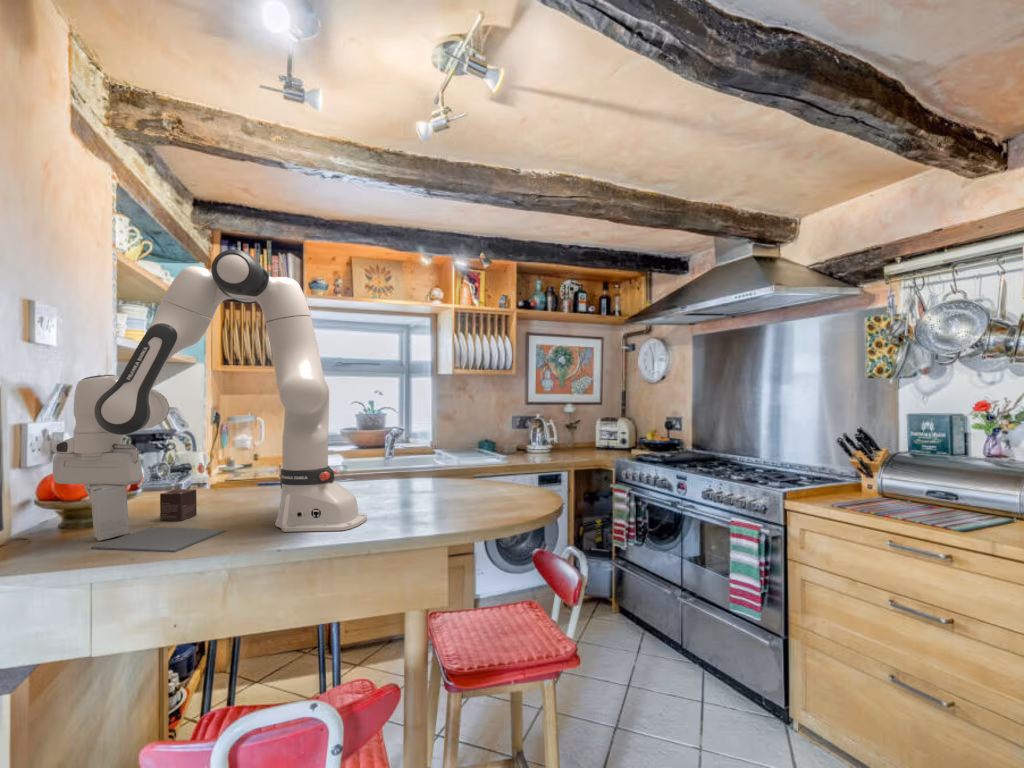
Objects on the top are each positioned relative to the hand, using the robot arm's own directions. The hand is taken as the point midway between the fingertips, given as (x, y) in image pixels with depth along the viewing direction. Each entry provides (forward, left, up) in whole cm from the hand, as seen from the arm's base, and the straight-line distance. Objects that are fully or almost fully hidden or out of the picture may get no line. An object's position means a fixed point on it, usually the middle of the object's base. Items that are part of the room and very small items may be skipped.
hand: (97, 503), depth 119 cm
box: (-6, -18, -8) cm, 20 cm away
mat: (-17, 0, -8) cm, 19 cm away
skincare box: (-4, 0, -8) cm, 9 cm away
